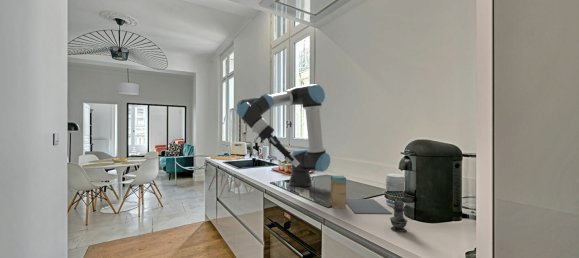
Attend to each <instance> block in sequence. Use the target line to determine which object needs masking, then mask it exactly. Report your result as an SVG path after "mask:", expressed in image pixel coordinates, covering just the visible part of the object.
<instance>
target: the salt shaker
mask: <svg viewBox="0 0 579 258" xmlns="http://www.w3.org/2000/svg"><path fill="white" fill-rule="evenodd" d="M404 211H405V209H404V207H403V201H402V200H401V199H399V197H398V199H395V201H394V207H393V216H392V217H390V218H389V220H390V223H391V225H392V226H391V227H390V230H391V231H392V232H396V233H401V234H402V233H406V232H407V229H406V226H407V223H408V221H409V220H407V219H406V218H405V217H404Z"/></svg>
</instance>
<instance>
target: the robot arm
mask: <svg viewBox="0 0 579 258" xmlns="http://www.w3.org/2000/svg"><path fill="white" fill-rule="evenodd" d="M325 96H326V94H325V90H324V88H323V87H322V86H321V85H319V84H316V83H315V84H313V83H312V84H307V85H301V86H295V87H293V88H289V89H286V90H283V91H282V92H279V93H272V94H268V93H264V94H262V95H261V96H258V97H253V98H246V99H240V100H239V101H238V102H237V104H236V114H237V116H239V117H240V119H241V120H242V121H243V122H244V123H245V124H246V125H247V126H248V127H249V128H250V129H251V132H252V133H255V134H256V135H258V137H259V139H261V141H265V140H267V139H268V143H269V144H271V145H272V146H273V147H274V148H276V149H277V150H278V151H279V152H280V153H281V154H282V155H283V157H284V159H287V160H288V161H289V162H290V163H291V174H290V178H289V181H288V185H290V186H292V187H299V188H303V187H311V186H312V185H313V182H312V176H311V174H310V171H314V172H317V173H319V172H321V173H322V172H324V173H325V172H326V171H327V170H328V169H329V167H330V164H331V156H330V155H329V154H328V153H327V152H326V148H325V147H324V146H323V133H322V124H321V123H322V122H321V114H320V113H321V112H320V108H321V107H322V103H324V101H325V98H326V97H325ZM292 105H293V106H294V105H295V106H296V105H299V106H301V105H302V108H303V109H304V110H305V118H306V128H307V129H306V130H307V138H308V139H307V140H308V149H300V150H293V151H289V150H288V149H287V148H286V147H285V146H284V145H283V144H282V143H281V141H280V140H279V139H278V137H277V136H276V135H273V133H274V132H275V129H274V128H273V126H271V124H269V122H267V120H266V119H265V118H264V117H263V116H262V115H263V114H265V113H267V112H268V111H269V110H271V109H272V108H276V107H277V108H278V107H280V106H281V107H282V106H292Z"/></svg>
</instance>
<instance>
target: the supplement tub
mask: <svg viewBox="0 0 579 258" xmlns="http://www.w3.org/2000/svg"><path fill="white" fill-rule="evenodd" d="M404 175H405V174H403V173H386V175H385V176H386V177H385V193H386V192H387V191H404V182H405V176H404ZM385 203H386V204H387V206H389V207H393V208H394V202H393V201H390V200H387V199H386V198H385ZM403 208H405V207H404V203H403Z"/></svg>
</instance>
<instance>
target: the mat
mask: <svg viewBox="0 0 579 258" xmlns="http://www.w3.org/2000/svg"><path fill="white" fill-rule="evenodd" d="M346 205H347V206H348V207H349V209H350V210H351V211H352V212H353V213H354V214H357V215H392V214H393V213H392V212H391V211H389V210H388V209H387V208H386V207H384V206H383V205H382V204H381V203H379V202H378V201H377V200H375V199H374V198H346Z"/></svg>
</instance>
